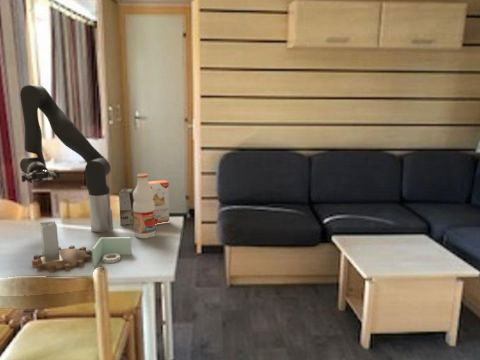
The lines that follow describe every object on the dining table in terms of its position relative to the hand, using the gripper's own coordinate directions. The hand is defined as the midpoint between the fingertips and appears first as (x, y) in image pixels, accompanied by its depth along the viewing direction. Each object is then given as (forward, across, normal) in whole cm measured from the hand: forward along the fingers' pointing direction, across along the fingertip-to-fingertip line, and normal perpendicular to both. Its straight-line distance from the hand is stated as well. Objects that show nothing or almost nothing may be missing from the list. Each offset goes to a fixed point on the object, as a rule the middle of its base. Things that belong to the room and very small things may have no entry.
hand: (42, 179), depth 176 cm
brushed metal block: (+13, -1, +28) cm, 31 cm away
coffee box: (-21, +39, +30) cm, 54 cm away
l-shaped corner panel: (+21, +20, +31) cm, 43 cm away
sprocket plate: (+13, +3, +30) cm, 33 cm away
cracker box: (-12, +49, +30) cm, 59 cm away
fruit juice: (+1, +40, +30) cm, 50 cm away
